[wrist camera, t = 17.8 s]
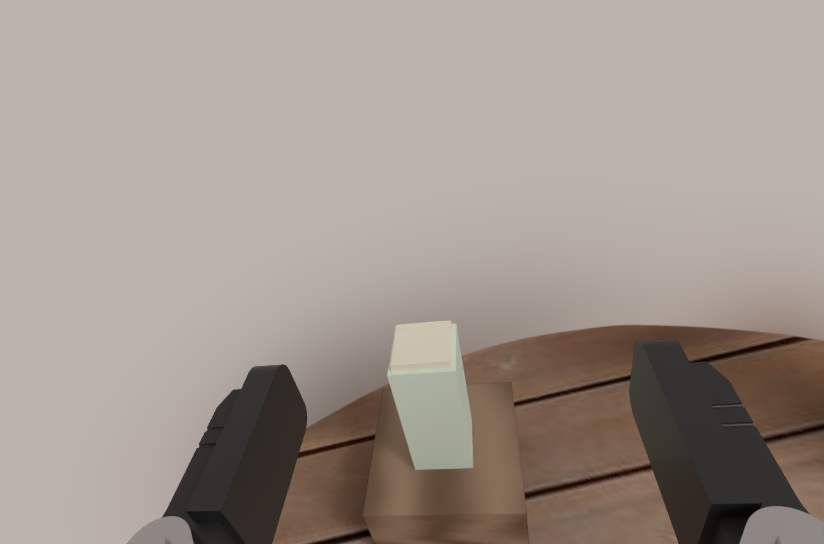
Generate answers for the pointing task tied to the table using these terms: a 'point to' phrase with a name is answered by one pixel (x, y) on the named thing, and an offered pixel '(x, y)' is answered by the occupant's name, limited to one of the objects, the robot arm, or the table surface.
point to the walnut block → (450, 481)
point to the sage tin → (431, 394)
